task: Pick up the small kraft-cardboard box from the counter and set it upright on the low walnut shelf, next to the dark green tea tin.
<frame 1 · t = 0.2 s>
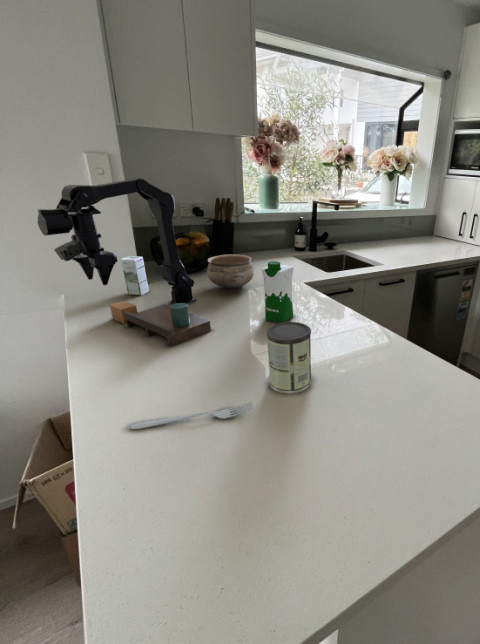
hand: (97, 282, 116), 14 cm above the counter, tool pointing down, fingers open, 9 cm apart
milk carton: (279, 318, 130), on the counter
shelf: (168, 328, 120), on the counter
cooking pot: (232, 287, 160), on the counter
syrup box: (138, 293, 150), on the counter
tea tin: (181, 324, 115), point 3 cm above the counter, touching shelf
coffee can: (290, 383, 93), on the counter
kraft box: (125, 319, 126), on the counter
fork: (194, 419, 79), on the counter
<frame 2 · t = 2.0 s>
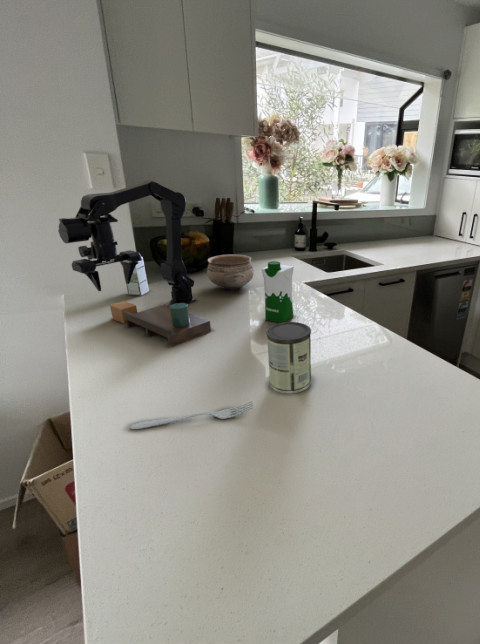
hand: (114, 287, 120), 12 cm above the counter, tool pointing down, fingers open, 9 cm apart
nothing on the counter moved.
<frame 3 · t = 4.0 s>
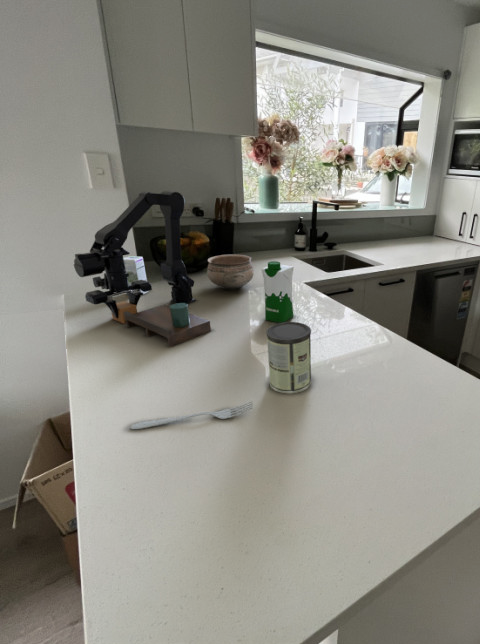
hand: (125, 315, 126), 1 cm above the counter, tool pointing down, fingers closed on kraft box, 5 cm apart
kraft box: (125, 319, 126), on the counter, touching gripper
everything else where it was.
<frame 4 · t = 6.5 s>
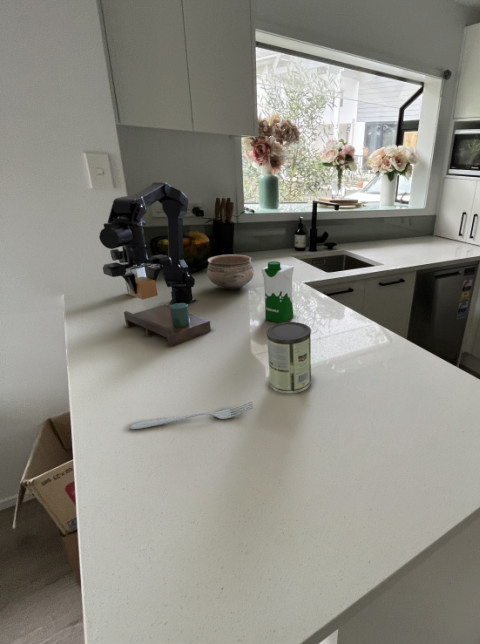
hand: (143, 291, 119), 11 cm above the counter, tool pointing down, fingers closed on kraft box, 5 cm apart
kraft box: (144, 295, 119), point 10 cm above the counter, touching gripper
everything else where it was.
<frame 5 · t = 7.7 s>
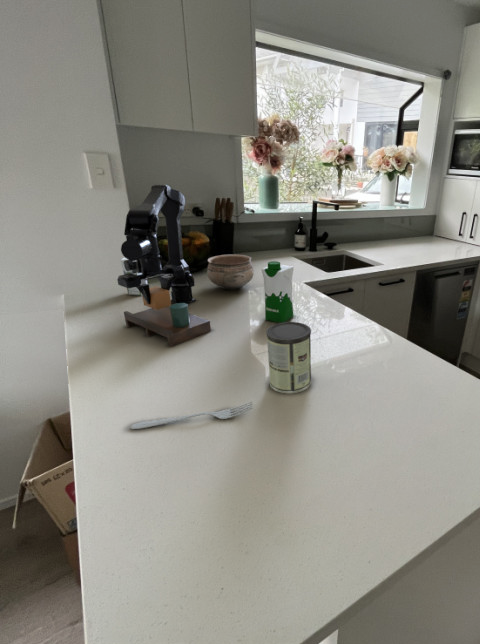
hand: (157, 301, 119), 8 cm above the counter, tool pointing down, fingers closed on kraft box, 5 cm apart
kraft box: (157, 305, 119), point 7 cm above the counter, touching gripper
everything else where it was.
when the fingers open (5 cm above the counter, at t = 9.1 s): kraft box stays where it is, resting on shelf.
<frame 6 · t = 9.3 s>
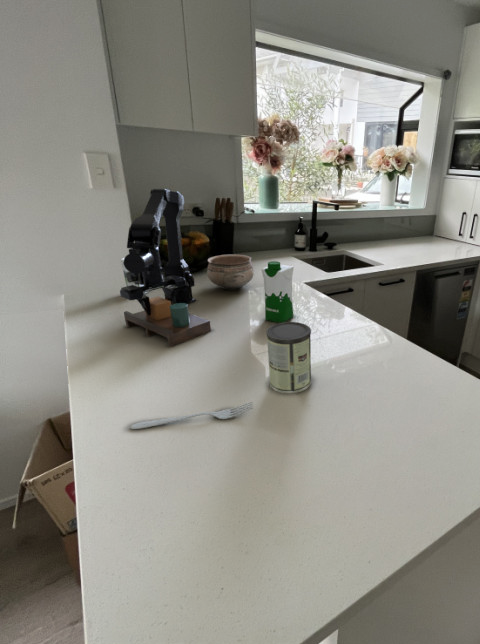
hand: (159, 312, 120), 5 cm above the counter, tool pointing down, fingers open, 6 cm apart
kraft box: (159, 315, 121), point 3 cm above the counter, touching shelf
everything else where it was.
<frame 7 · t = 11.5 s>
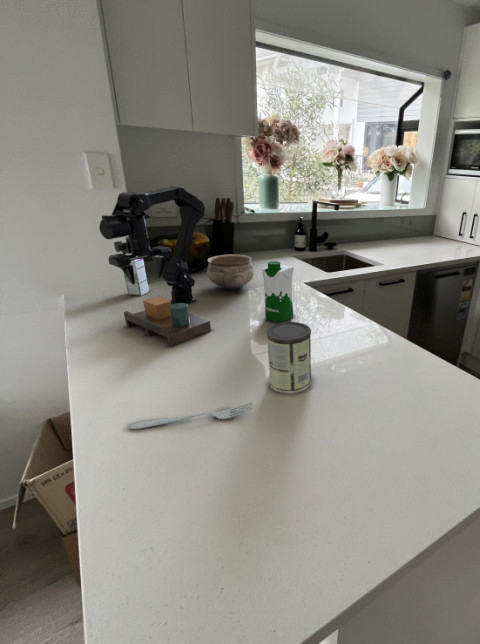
hand: (146, 281, 126), 12 cm above the counter, tool pointing down, fingers open, 9 cm apart
nothing on the counter moved.
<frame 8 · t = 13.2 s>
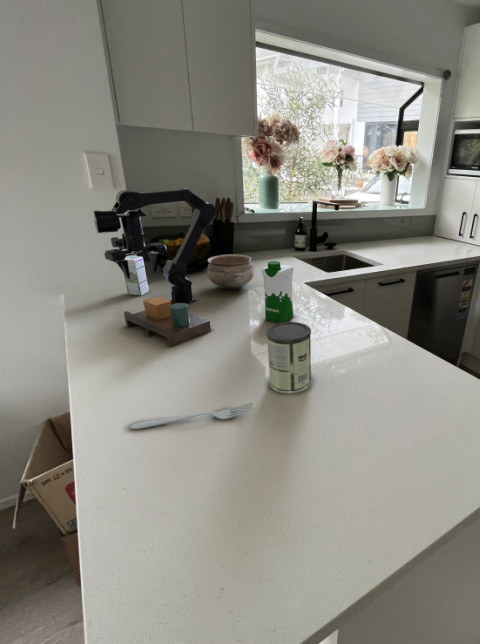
hand: (141, 276, 131), 12 cm above the counter, tool pointing down, fingers open, 9 cm apart
nothing on the counter moved.
at the end: kraft box inside the target area on the shelf (0.0 cm from its centre), point 3.5 cm above the shelf's base; kraft box tilted 0°; kraft box 11.5 cm from the tea tin (horizontally) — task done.
